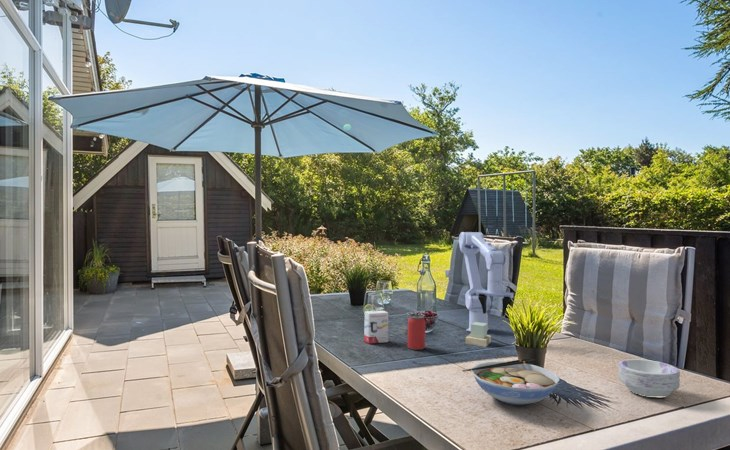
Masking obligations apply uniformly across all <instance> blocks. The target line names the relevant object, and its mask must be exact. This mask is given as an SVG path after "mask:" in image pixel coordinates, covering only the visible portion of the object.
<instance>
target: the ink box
mask: <svg viewBox="0 0 730 450" xmlns="http://www.w3.org/2000/svg"><path fill="white" fill-rule="evenodd" d="M363 322H364V324H363V325H364V327H363V328H364V329H363V330H364V331H363V333H364V335H363V337H364V338H363V341H364V342H365V343H367V344H369V345H371V344H381V343H389V312H387V311H385V310H366V311H364V321H363Z"/></svg>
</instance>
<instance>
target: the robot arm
mask: <svg viewBox="0 0 730 450" xmlns="http://www.w3.org/2000/svg"><path fill="white" fill-rule="evenodd" d="M484 238H485V237H484V234H483V233H482V232H481V231H478V232H477V231H475V232H474V231H473V232H472V231H465V232H464V231H461V232H460V234H459V235H458V244H459V249H460V252H461V253H462V254H463V256H464V262H465V267H466V273H467V278H468V283H469V289H468V290H467V291H466V292H465V295H464V296H465V300H464V301H465V306H466V308H467V310H469V314H468V315H469V317H468V318H469V319H468V321H469V322H468V323H469V326H468V328H467V329H465V331H466V332H470V333H471V324H472V323H474V322H480V323H487V332H488V331H489V330H490V327H488V325H489V323H488V321H489V320H488V319H489V317H488V314H489V313H488V311H489V310H490V307H491V306H492V299H491V297H495V298H496V297H498V298H502V299H501V300H502V301H501V302H502V311H501V313H502V314H501V315H502V316H503V317H504V316H506V312H507V309H508V306H509V304H510V301H511V300H512V299H514V292H510V291H509V292H508V291H503V267H504V266H503V265H505V263H506V253H505V251H503V250H498V249H496V247H495V246H494V245H493V244H492V243H491V242H487V241H486V240H485V239H484ZM479 252H480V254H481V255H482V256H483V257H484V258H485V263H486V269H487V289H485V288H484V287H482V281H481V277H480V272H479V267H478V262H477V261H478V260H477V256H476V255H477V254H478V253H479ZM507 305H508V306H507ZM506 308H507V309H506Z"/></svg>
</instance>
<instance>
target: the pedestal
mask: <svg viewBox="0 0 730 450" xmlns="http://www.w3.org/2000/svg"><path fill="white" fill-rule="evenodd" d="M491 343H492V336H491V335H489V334H487V336H486V337H485V338H484V339H481V338H475V337H471V333H470V334H468V335H467V336H466V337H465V343H464V344H465V345H471V346H479V347H484V348H487V347H488V345H489V344H491Z"/></svg>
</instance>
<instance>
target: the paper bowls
mask: <svg viewBox="0 0 730 450" xmlns="http://www.w3.org/2000/svg"><path fill="white" fill-rule="evenodd" d="M617 366H618V368H617V370H618V376H617V377H618V380H619V382H621V383H623V384H624V385H625V387H626V389H627V390H628V391H629V390H630V391H632V392H634V393H637V394H641V395H645V396H668V395H669V396H670V395H671V393H672V391H676V390H678V389H680V385H681V383H680V381H681V380H680V377H681V376H680V369H678V367H676V366H675V365H672V364H669V363H665V362H662V361H658V360H650V359H645V358H644V359H642V358H641V359H640V358H630V359H623V360H620V361H619V362H618V365H617ZM630 391H629V392H630ZM632 392H631V393H632ZM634 393H633V394H634ZM669 396H668V397H669Z"/></svg>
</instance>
